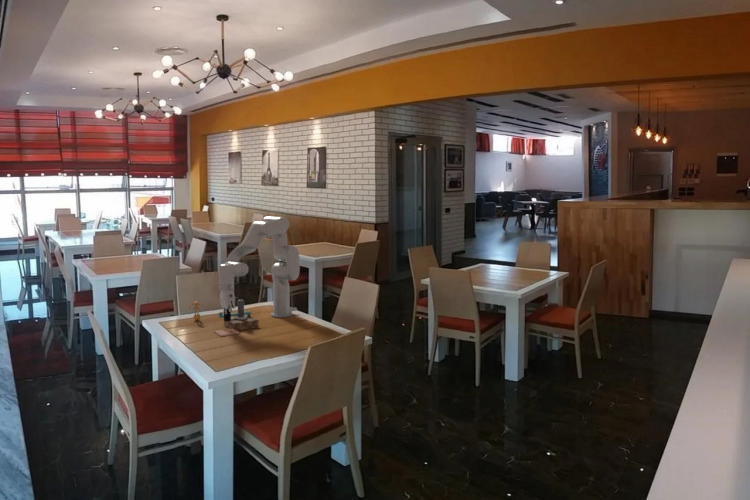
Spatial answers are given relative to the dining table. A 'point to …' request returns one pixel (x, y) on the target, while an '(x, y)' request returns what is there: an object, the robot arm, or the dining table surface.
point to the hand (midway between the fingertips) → (227, 320)
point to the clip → (233, 314)
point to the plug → (240, 311)
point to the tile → (226, 332)
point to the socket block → (242, 323)
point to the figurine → (196, 316)
